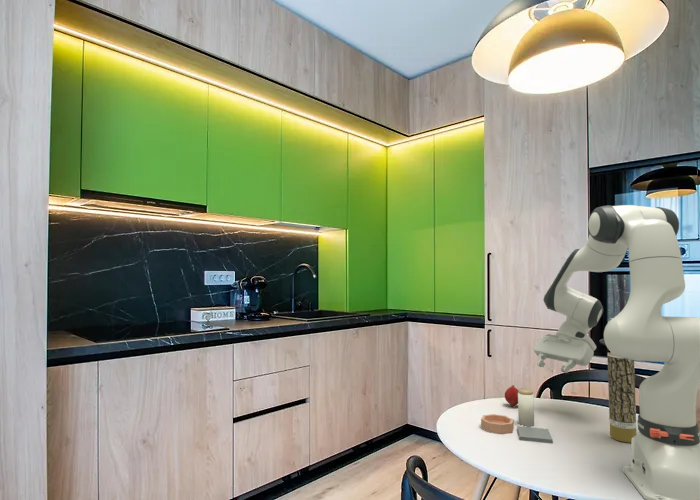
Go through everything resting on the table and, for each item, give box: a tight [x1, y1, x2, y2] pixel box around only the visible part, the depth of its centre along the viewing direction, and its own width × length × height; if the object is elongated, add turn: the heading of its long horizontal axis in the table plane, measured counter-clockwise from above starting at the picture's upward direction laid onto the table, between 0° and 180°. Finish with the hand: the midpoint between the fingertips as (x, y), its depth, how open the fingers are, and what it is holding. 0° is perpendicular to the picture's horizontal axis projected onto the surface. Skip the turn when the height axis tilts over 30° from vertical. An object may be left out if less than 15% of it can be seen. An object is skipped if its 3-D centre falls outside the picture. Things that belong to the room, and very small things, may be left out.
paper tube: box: [606, 352, 638, 444], centre depth 131 cm, size 7×7×25 cm
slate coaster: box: [516, 425, 554, 444], centre depth 133 cm, size 9×9×1 cm
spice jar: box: [517, 387, 535, 427], centre depth 143 cm, size 5×5×11 cm
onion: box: [504, 384, 519, 407], centre depth 162 cm, size 6×6×8 cm
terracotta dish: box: [480, 413, 515, 435], centre depth 139 cm, size 9×9×3 cm
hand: (551, 368), depth 149 cm, fingers open, 8 cm apart
